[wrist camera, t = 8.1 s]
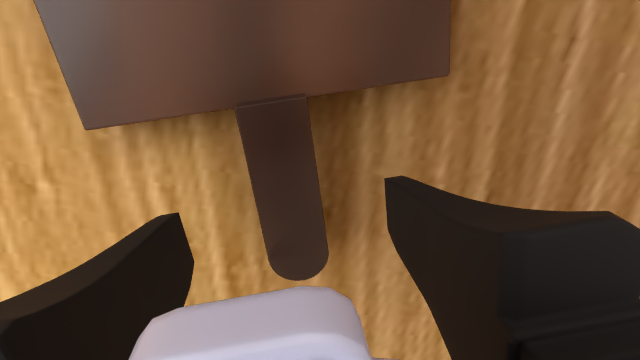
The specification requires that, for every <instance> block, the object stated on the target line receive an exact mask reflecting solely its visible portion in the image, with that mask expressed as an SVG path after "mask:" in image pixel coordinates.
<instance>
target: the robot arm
mask: <svg viewBox="0 0 640 360" xmlns="http://www.w3.org/2000/svg"><path fill="white" fill-rule="evenodd" d="M384 181H385V196H386V211H387V226H388V231H389V234H390V236H391V239H392V241H393V244H394V246H395V248H396V251H397V253H398V254H399V256H400V258H401V260H402V261H403V263H404V265H405V266H406V268H407V270H408V271H409V273H410V275H411V276H412V278H413V280H414V282H415V283H416V285H417V287H418V288H419V290H420V292H421V293H422V295H423V297H424V299H425V300H426V302H427V304H428V306H429V308H430V310H431V313H432V315H433V317H434V319H435V322H436V324H437V326H438V328H439V331H440V333H441V335H442V338H443V340H444V342H445V345H446V347H447V349H448V352H449V354H450V357H451V359H452V360H640V299H639V297H640V229H639V228H637V227H636V226H634V225H632V224H631V223H629V222H627V221H626V220H624V219H622V218H620V217H618V216H617V215H615V214H613V213H611V212H609V211H574V212H565V211H544V210H531V209H521V208H514V207H506V206H500V205H494V204H489V203H485V202H480V201H476V200H472V199H468V198H464V197H461V196H458V195H455V194H452V193H449V192H446V191H443V190H440V189H437V188H435V187H432V186H429V185H427V184H424V183H422V182H419V181H417V180H414V179H411V178H408V177H405V176H397V177H391V178H385V179H384ZM193 268H194V259H193V256H192V253H191V250H190V247H189V244H188V240H187V237H186V234H185V231H184V228H183V225H182V222H181V219H180V216H179V212H178V213H172V214H166V215H160V216H158V217H156V218H154V219H152V220H151V221H149V222H147V223H146V224H144V225H143V226H141V227H140V228H138V229H137V230H135V231H134V232H132V233H131V234H129V235H128V236H126V237H125V238H123V239H122V240H120V241H119V242H117V243H116V244H114V245H113V246H111V247H109V248H108V249H106V250H105V251H103V252H102V253H100V254H98V255H97V256H95V257H94V258H92V259H90V260H89V261H87V262H85V263H83V264H82V265H80V266H78V267H76V268H74V269H73V270H71V271H69V272H67V273H65V274H63V275H61V276H59V277H57V278H55V279H53V280H51V281H49V282H46V283H44V284H42V285H40V286H38V287H35V288H33V289H31V290H29V291H26V292H24V293H22V294H20V295H17V296H15V297H13V298H10V299H7V300H5V301H2V302H0V360H398V359H385V358H374V357H372V356H371V355H370V352H369V348H368V345H367V341H366V338H365V334H364V331H363V327H362V324H361V320H360V318H359V316H358V314H357V311H356V309H355V307H354V305H353V303H352V301H351V299H349V298H347V297H345V296H344V295H342V294H340V293H338V292H337V291H335V290H333V289H331V288H329V287H309V286H299V287H293V288H288V289H282V290H276V291H271V292H265V293H260V294H254V295H248V296H243V297H237V298H231V299H226V300H220V301H215V302H209V303H203V304H198V305H192V306H186V307H184V304H185V301H186V298H187V295H188V292H189V289H190V285H191V280H192V275H193Z"/></svg>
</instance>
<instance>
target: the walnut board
mask: <svg viewBox="0 0 640 360" xmlns="http://www.w3.org/2000/svg"><path fill="white" fill-rule="evenodd" d="M34 3H35V5H36V8H37V10H38V13H39V15H40V18H41V20H42V23H43V25H44V28H45V30H46V33H47V35H48V38H49V40H50V43H51V46H52V48H53V51H54V53H55V56H56V58H57V61H58V63H59V66H60V68H61V71H62V73H63V76H64V78H65V81H66V83H67V86H68V88H69V91H70V93H71V96H72V98H73V101H74V103H75V106H76V108H77V111H78V113H79V116H80V119H81V121H82V124H83V126H84V129H85V130H94V129H100V128H107V127H113V126H120V125H127V124H133V123H140V122H147V121H153V120H160V119H166V118H173V117H180V116H186V115H193V114H199V113H206V112H213V111H219V110H226V109H233V108H235V112H236V117H237V121H238V126H239V130H240V135H241V139H242V144H243V148H244V153H245V157H246V161H247V166H248V170H249V175H250V179H251V184H252V188H253V193H254V197H255V202H256V206H257V211H258V215H259V219H260V224H261V228H262V233H263V237H264V242H265V246H266V251H267V255H268V260H269V263H270V265H271V267H272V269H273V270H274V271H275V272H276V273H277V274H278V275H279V276H281V277H283V278H285V279H288V280H295V281H300V280H306V279H309V278H312V277H314V276H315V275H317V274H318V273H319V272H320V271H321V270H322V269H323V268H324V267H325V265H326V263H327V261H328V256H329V251H328V244H327V237H326V230H325V223H324V216H323V209H322V202H321V195H320V188H319V181H318V174H317V167H316V160H315V153H314V146H313V139H312V132H311V125H310V118H309V111H308V104H307V97H312V96H319V95H325V94H332V93H338V92H345V91H352V90H358V89H365V88H371V87H378V86H385V85H391V84H398V83H405V82H411V81H418V80H424V79H431V78H438V77H444V76H448V75H449V74H450V0H34Z"/></svg>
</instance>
